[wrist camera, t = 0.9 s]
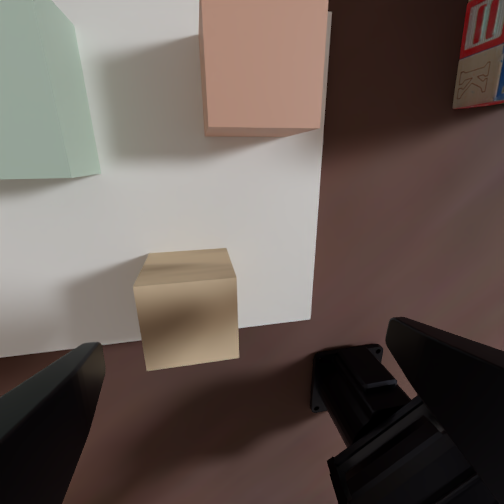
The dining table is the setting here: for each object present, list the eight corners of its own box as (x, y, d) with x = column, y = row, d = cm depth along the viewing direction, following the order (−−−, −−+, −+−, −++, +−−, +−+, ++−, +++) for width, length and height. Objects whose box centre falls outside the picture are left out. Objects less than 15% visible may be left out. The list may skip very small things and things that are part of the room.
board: (307, 315, 22) (310, 319, 22) (-35, 356, 18) (-42, 362, 17) (327, 17, 16) (331, 11, 15) (-201, -32, 11) (-221, -41, 11)
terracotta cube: (285, 136, 17) (320, 128, 12) (204, 136, 16) (208, 126, 11) (288, 40, 15) (329, -11, 11) (198, 34, 14) (199, -26, 10)
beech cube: (228, 312, 20) (239, 357, 15) (158, 319, 19) (146, 371, 15) (226, 247, 18) (236, 277, 14) (149, 253, 18) (132, 287, 13)
